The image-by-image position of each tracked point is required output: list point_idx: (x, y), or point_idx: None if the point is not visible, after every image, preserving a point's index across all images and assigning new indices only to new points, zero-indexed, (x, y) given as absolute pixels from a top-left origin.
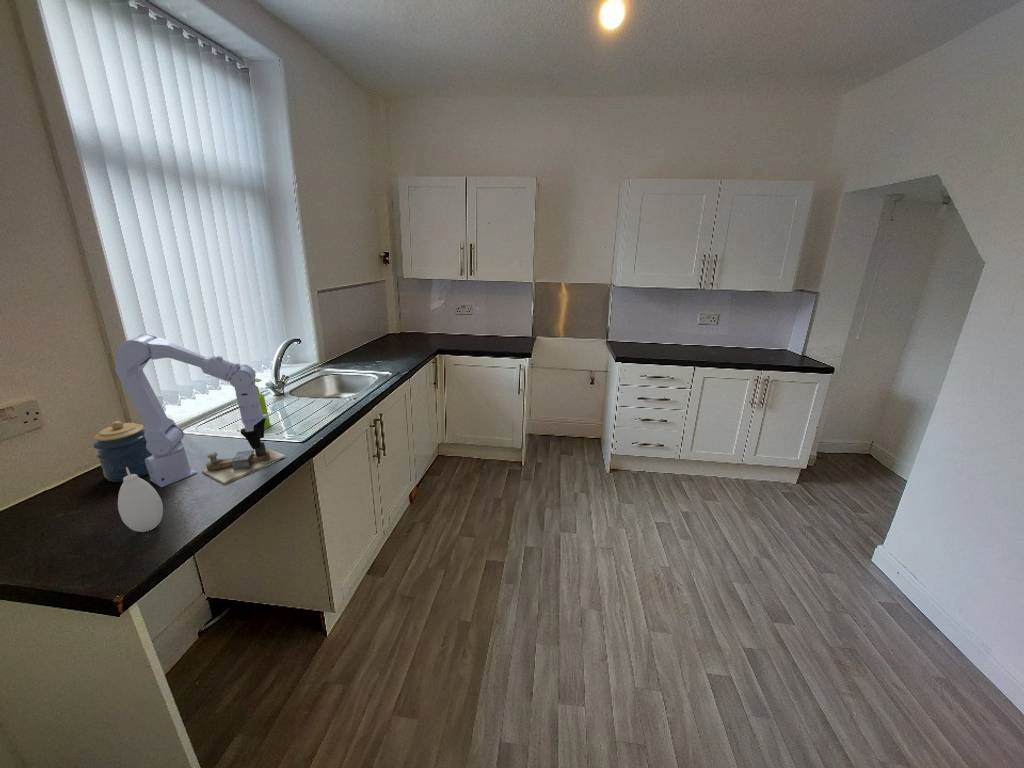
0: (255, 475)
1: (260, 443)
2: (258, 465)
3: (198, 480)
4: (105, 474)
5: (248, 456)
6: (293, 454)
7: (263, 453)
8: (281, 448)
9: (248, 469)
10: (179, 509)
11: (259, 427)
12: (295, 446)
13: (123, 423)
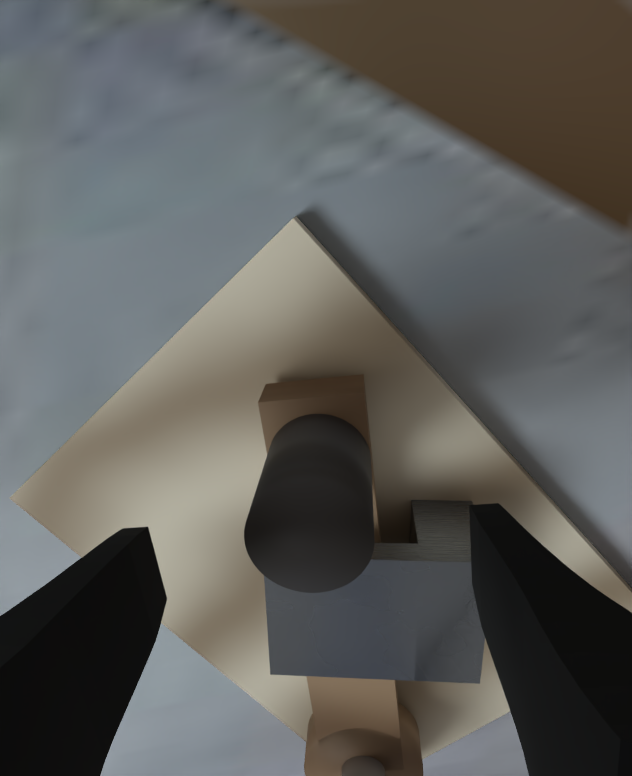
0: (595, 425)
1: (494, 528)
2: (443, 441)
3: (484, 764)
4: None
5: (422, 569)
6: (233, 143)
7: (356, 442)
8: (55, 315)
9: None
10: None
11: (57, 694)
12: (23, 167)
13: None
